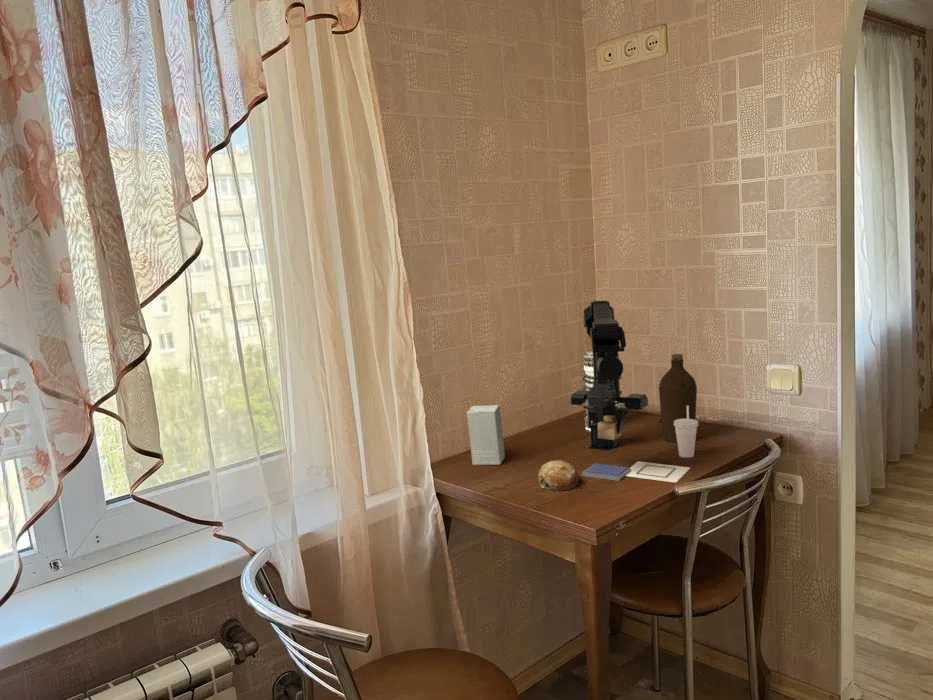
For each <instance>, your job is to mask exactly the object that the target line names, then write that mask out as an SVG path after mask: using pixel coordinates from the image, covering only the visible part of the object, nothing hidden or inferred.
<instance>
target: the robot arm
mask: <svg viewBox="0 0 933 700" xmlns="http://www.w3.org/2000/svg"><path fill="white" fill-rule="evenodd" d="M582 318H583V319H582V320H583V328H585V329H586V330H585V332H586V334H587V337H588V338H589V339H590V344H591V350H592V352H593V371H594V385H593V387H592V388H591V389H590V390H589V391H588V390H584V389H579V390H577V391H575V392H573V393H572V394H571V396H570V405H572V406H582V405H583V409H587V423H588V428H591V432H590V445H589V446H588V449H593V450H604V451H611V450H612V449H614V448H616V446H618V439H616V440H609V439H599V438H598V422H601V421H604V416H606V415H612V416H616V421H617V434H619V433H620V432H621V433H622V430H623V426H624V424H625V421H626V420H627V419H626V418H627V416H628V414H629V413H630V411H631V410H632V411H639V410H640V411H641V410H643V409H644V408H646V407H648V406H649V398H648V396H647V395H646V394H645V393H644V394H643V393H630V394H629V395H628V396H621V395H623V392H622V390H621V388H620V380H621V379H622V374H623V373H624V365H623V363H622V360H621V359H620V357H619V352H625V348H626V347H627V341H626V333H625V331H624V329H623V327H622V326H620V324H619V322H618V320H616V319H615V309H614V307H613V306H611V305H610V301H607V300H593V301H591V302H590V304H589V306H587V307H586V308H585V309H584V310H583V316H582ZM616 405H618V406H616ZM590 421H592V422H590Z"/></svg>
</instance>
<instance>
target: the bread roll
mask: <svg viewBox="0 0 933 700" xmlns="http://www.w3.org/2000/svg"><path fill="white" fill-rule="evenodd" d="M537 477H538V484H539V486H540V488H541V489H545V490H549V491H556V492H557V491H559V492H562V491H563V492H564V491H569V490H572V489H574V488H575V487H576V486H578V484H579V483H578V482H579V474H578V470H577V469H576V468H575V466H573V465H572V464H571V463H569V462H568V461H566V460H562V459H558V460H550V461H548V462H546V463H544V464H543V465H542V466H541V467H540V469H539V471H538V473H537Z"/></svg>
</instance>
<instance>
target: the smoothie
mask: <svg viewBox="0 0 933 700" xmlns="http://www.w3.org/2000/svg"><path fill="white" fill-rule="evenodd" d="M674 426H675V430H676V437H677V442H676V443H677V449H678V456H679V457H681V458H688V459H689V458H693V457H694V455H695V446H696V438H697V429H698V427H699V421H698V420H697V419H696V420H694V419H689V406H687V419H677V420H675V421H674Z"/></svg>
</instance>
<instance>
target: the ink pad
mask: <svg viewBox="0 0 933 700" xmlns="http://www.w3.org/2000/svg"><path fill="white" fill-rule="evenodd" d="M630 471H631V468H630V467H627V466H622V465H621V466H619V465H611V464H603V463H593V464H591V465H590V466H589V467H587V468H586V469H585V470H584V471H582V472H581V476H582V477H587V478H590V477H591V478H596V479H603V480H609V481H611V480H612V481H617V482H620V481H621V480H622V479H623V478H624V477H626V476H625V475H626V474H627V473H629V472H630Z"/></svg>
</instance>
